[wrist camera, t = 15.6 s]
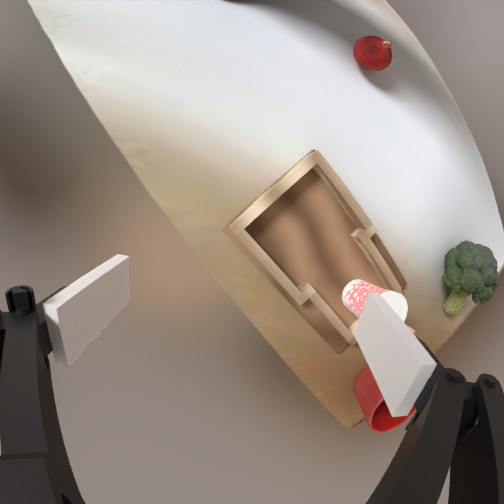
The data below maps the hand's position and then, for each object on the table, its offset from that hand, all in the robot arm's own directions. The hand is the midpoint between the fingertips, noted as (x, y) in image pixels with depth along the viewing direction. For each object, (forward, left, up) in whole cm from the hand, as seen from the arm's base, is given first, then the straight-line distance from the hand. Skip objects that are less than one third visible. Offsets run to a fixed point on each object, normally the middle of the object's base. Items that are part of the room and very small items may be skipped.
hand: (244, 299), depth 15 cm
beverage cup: (-9, +19, -21) cm, 30 cm away
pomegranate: (-35, -7, -23) cm, 42 cm away
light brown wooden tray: (-9, +12, -22) cm, 27 cm away
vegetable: (-27, +33, -23) cm, 49 cm away
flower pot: (-2, +37, -23) cm, 43 cm away
